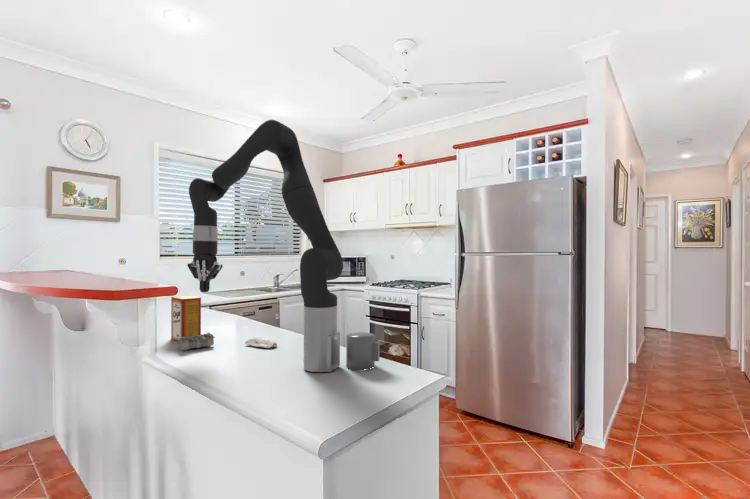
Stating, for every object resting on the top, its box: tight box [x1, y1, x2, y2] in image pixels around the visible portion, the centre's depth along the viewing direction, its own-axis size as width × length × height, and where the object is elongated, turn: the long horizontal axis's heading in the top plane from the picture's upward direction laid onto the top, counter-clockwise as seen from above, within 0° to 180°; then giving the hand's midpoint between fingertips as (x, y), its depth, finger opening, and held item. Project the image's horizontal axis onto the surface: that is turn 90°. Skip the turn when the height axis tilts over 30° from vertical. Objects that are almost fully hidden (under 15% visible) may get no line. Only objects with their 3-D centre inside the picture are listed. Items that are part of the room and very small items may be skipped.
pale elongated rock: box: [244, 337, 278, 349], centre depth 134 cm, size 12×5×4 cm
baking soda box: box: [170, 295, 202, 343], centre depth 144 cm, size 10×6×16 cm
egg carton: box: [177, 332, 216, 351], centre depth 132 cm, size 11×8×4 cm
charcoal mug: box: [345, 331, 380, 371], centre depth 111 cm, size 9×8×9 cm
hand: (204, 292), depth 131 cm, fingers closed
